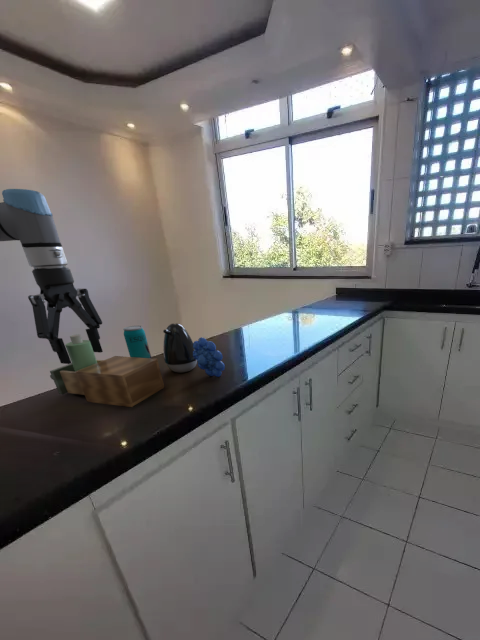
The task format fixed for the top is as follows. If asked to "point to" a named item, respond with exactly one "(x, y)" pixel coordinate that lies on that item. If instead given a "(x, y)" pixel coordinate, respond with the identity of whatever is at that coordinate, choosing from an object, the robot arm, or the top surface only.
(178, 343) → the pump dispenser
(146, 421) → the top surface
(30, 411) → the top surface
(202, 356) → the grapes
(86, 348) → the soap bottle
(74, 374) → the drawer
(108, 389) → the cabinet
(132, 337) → the beverage can
